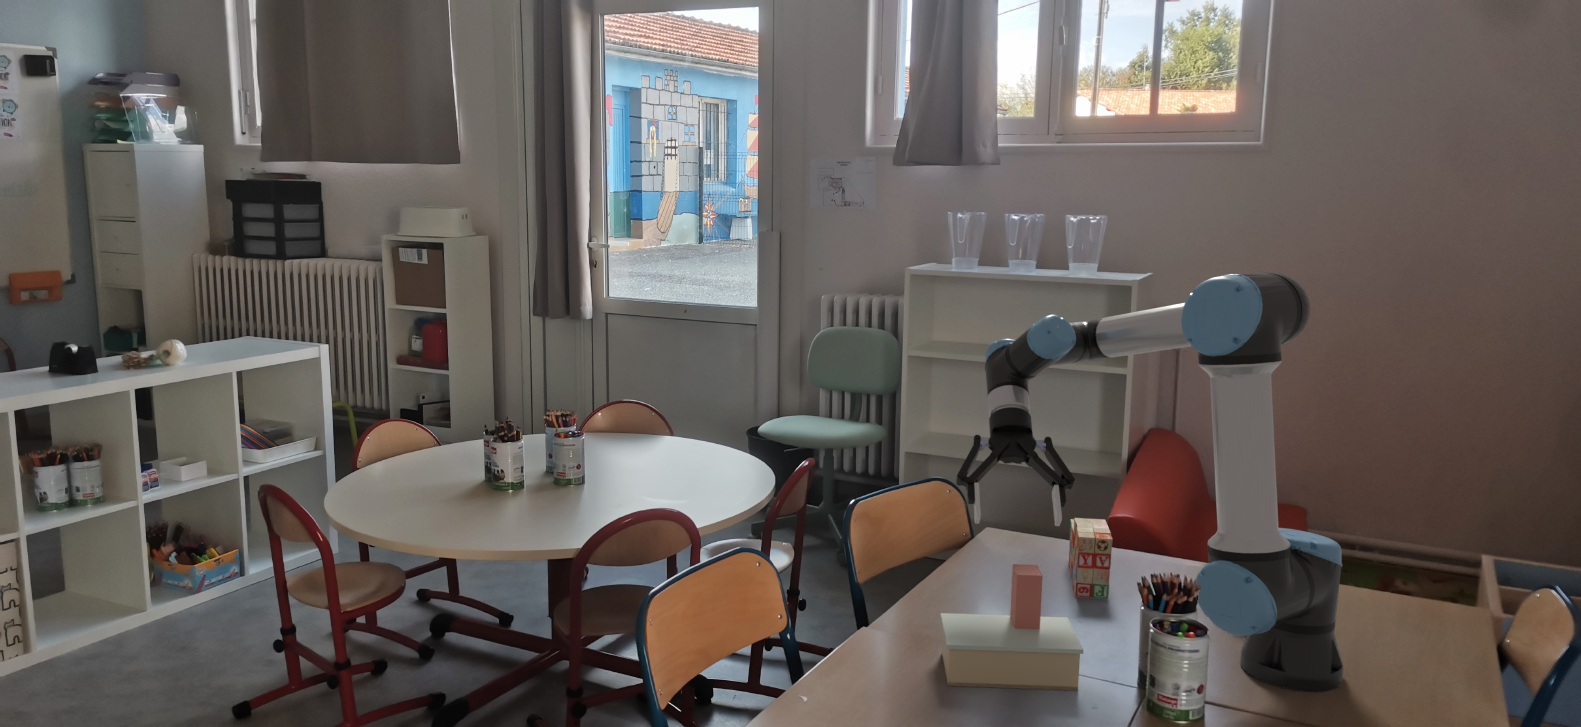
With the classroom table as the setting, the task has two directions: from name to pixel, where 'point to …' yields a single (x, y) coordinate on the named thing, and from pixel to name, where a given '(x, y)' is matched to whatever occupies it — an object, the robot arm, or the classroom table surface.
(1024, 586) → the lid
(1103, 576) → the stack of blocks
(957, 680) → the carton
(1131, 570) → the classroom table surface
